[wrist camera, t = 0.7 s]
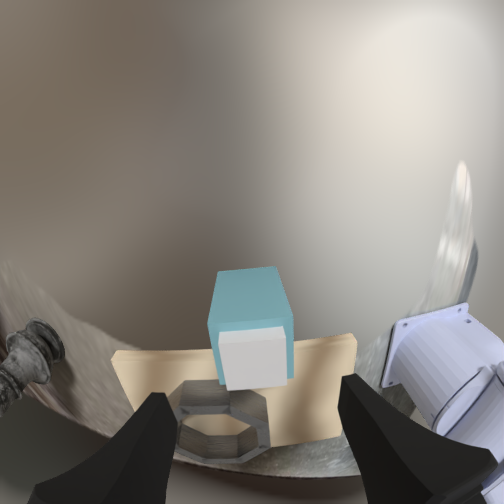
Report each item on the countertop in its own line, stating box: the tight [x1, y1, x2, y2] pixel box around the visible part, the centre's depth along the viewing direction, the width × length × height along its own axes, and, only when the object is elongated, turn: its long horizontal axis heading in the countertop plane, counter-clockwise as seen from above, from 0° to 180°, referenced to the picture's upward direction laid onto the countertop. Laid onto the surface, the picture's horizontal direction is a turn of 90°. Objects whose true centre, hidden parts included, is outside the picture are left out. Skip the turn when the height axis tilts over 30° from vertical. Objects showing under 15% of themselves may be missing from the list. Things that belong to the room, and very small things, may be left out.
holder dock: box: [111, 333, 358, 464], centre depth 21 cm, size 20×13×4 cm, turn 95°
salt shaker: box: [0, 318, 65, 417], centre depth 15 cm, size 6×6×12 cm
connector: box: [208, 266, 294, 391], centre depth 16 cm, size 4×4×8 cm
